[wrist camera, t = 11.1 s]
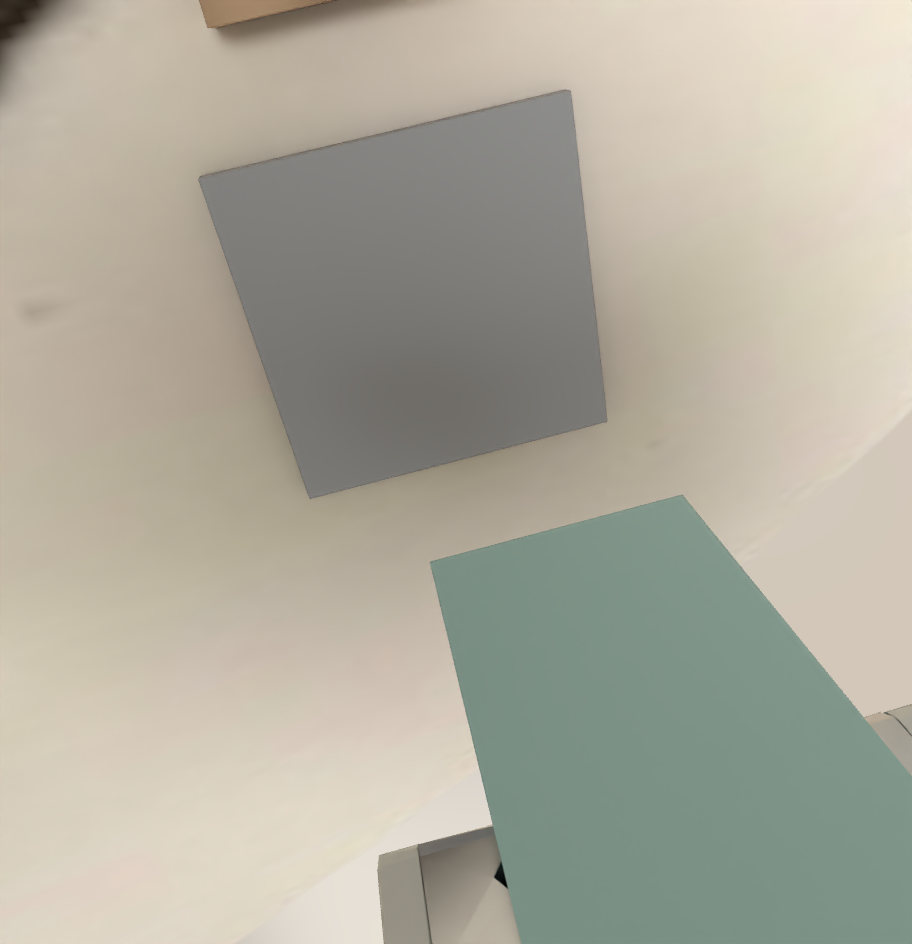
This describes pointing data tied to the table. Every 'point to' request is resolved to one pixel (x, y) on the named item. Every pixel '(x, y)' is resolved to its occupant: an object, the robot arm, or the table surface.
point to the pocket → (248, 9)
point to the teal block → (668, 746)
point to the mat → (419, 290)
